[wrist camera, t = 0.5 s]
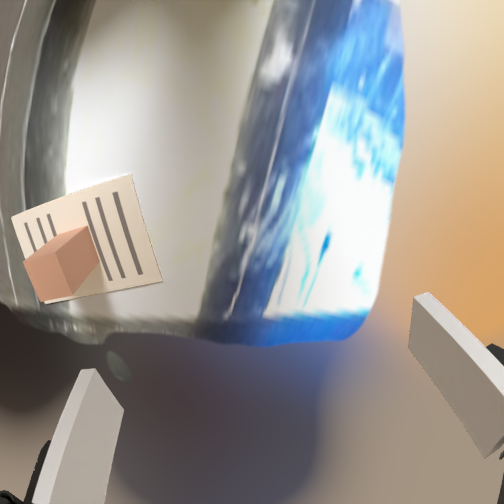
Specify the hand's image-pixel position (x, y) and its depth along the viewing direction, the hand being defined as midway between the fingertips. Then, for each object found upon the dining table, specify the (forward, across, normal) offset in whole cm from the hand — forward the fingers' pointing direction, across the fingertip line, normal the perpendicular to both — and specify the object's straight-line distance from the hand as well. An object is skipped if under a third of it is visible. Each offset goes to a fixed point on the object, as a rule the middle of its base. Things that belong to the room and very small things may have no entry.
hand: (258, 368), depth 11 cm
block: (+26, -21, 0) cm, 33 cm away
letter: (+26, -21, 0) cm, 34 cm away
